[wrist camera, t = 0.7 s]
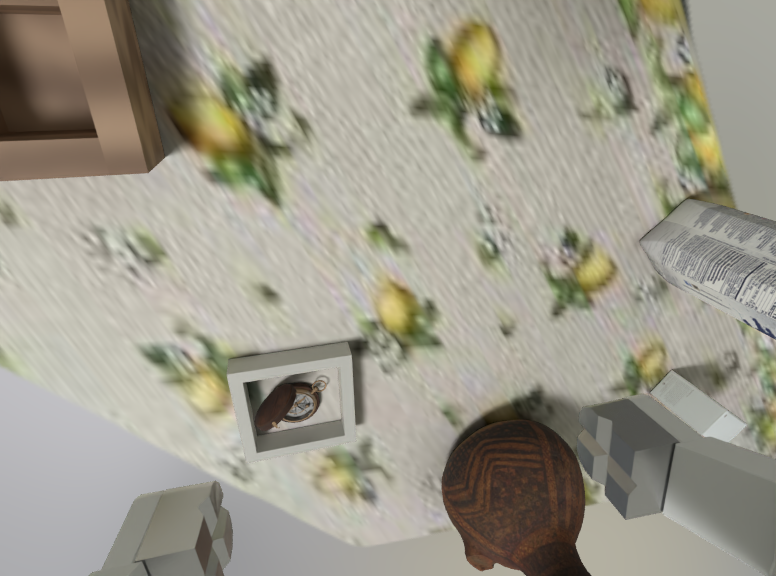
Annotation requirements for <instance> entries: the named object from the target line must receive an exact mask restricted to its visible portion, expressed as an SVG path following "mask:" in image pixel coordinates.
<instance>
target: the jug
mask: <svg viewBox="0 0 776 576" xmlns="http://www.w3.org/2000/svg"><path fill="white" fill-rule="evenodd" d="M442 495H443V502H444V505H445V508H446V511H447V513H448V515H449V518H450V520H451V521H452V523H453V525H454V526H455V527H456V529H457V530H458V532H459V533H460V535H461V537H462V539H463V542H464V546H465V555H466V558H467V561H468V562H469V563H470V564H471V565H472V566H473V567H475V568H477V569H478V570H480V571H484V570H488V569H492V568H493V566H494V564H495V563H499V564H501V565H503V566H505V567H508V568H511V569H515V570H520V571H522V572H523V573H524V574H525V575H526V576H591V575H590V573H589V572H587V570H586V568H585V567H584V565H583V563H582V562H581V559H580V557H579V555H578V552H577V549H576V545H575V543H576V540H577V538H578V535H579V532H580V530H581V527H582V523H583V518H584V511H585V490H584V483H583V477H582V473H581V469H580V466H579V463H578V461H577V458H576V456H575V454H574V453H573V451H572V449H571V448H570V447H569V445H568V444H567V443H566V442H565V441H564V440H563V439H562V438H561V437H560V436H559V435H558V434H557V433H556V432H554V431H553V430H552V429H550V428H548V427H547V426H545V425H543V424H540V423H538V422H535V421H530V420H508V421H500V422H495V423H492V424H489V425H487V426H484V427H483V428H481V429H479V430H477V431H476V432H474V433H473V434H472V435H471V436H469V437H468V438H467V439H466V440H464V441H463V442H462V443H461V444H460V445H459V446H458V447H457V448H456V449H455V450H454V452H453V453H452V455H451V456H450V458H449V460H448V462H447V464H446V467H445V469H444V472H443V476H442Z"/></svg>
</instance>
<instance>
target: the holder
mask: <svg viewBox="0 0 776 576" xmlns="http://www.w3.org/2000/svg"><path fill="white" fill-rule="evenodd" d="M164 158H165V155H164V150H163V146H162V142H161V138H160V133H159V129H158V125H157V121H156V116H155V112H154V108H153V104H152V99H151V95H150V91H149V86H148V82H147V78H146V74H145V69H144V65H143V61H142V57H141V52H140V48H139V44H138V40H137V35H136V31H135V27H134V23H133V18H132V14H131V10H130V6H129V1H128V0H0V181H12V180H31V179H49V178H67V177H85V176H103V175H121V174H140V173H149V172H150V171H151V170H152V169H153V168H154V167H155V166H156V165H157V164H159V163H160V162H161V161H162V160H163V159H164Z"/></svg>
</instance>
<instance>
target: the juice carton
mask: <svg viewBox="0 0 776 576" xmlns="http://www.w3.org/2000/svg"><path fill="white" fill-rule="evenodd" d="M640 245H641V247H642V248H643V250H644V251H645V253H646V254H647V255H648V257H649V259H650V261H651V263H652V264H653V266H654V268H655V269H656V271H657V272H658V273H659V274H660V275H661V276H662V277H663V278H664V279H665V280H666V281H668V282H669V283H671V284H672V285H674V286H676V287H678V288H679V289H681V290H683V291H685V292H687V293H689V294H691V295H693V296H694V297H696V298H698V299H700V300H702V301H704V302H706V303H708V304H710V305H711V306H713V307H715V308H717V309H719V310H721V311H723V312H725V313H727V314H728V315H730V316H732V317H734V318H736V319H738V320H740V321H742V322H744V323H745V324H747V325H749V326H751V327H753V328H755V329H757V330H759V331H761V332H762V333H764V334H766V335H768V336H770V337H772V338H774V339H776V221H773V220H769V219H766V218H763V217H759V216H756V215H753V214H749V213H746V212H742V211H739V210H736V209H732V208H729V207H726V206H722V205H718V204H714V203H709V202H704V201H699V200H693V199H686V200H685V201H684V202H682V203H681V204H680V205H679V206H678V207H677V208H676V209H675V210H674V211H673V212H671V213H670V214H669V215H668V216H667V217H666V218H665V219H664V220H663V221H662V222H661V223H660V224H658V225H657V226H656V227H655V228H654V229H652V230H651V231H650V232H649V233H648V234H647V235H645V236H644V237H643V238H642V239H641V240H640Z"/></svg>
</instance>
